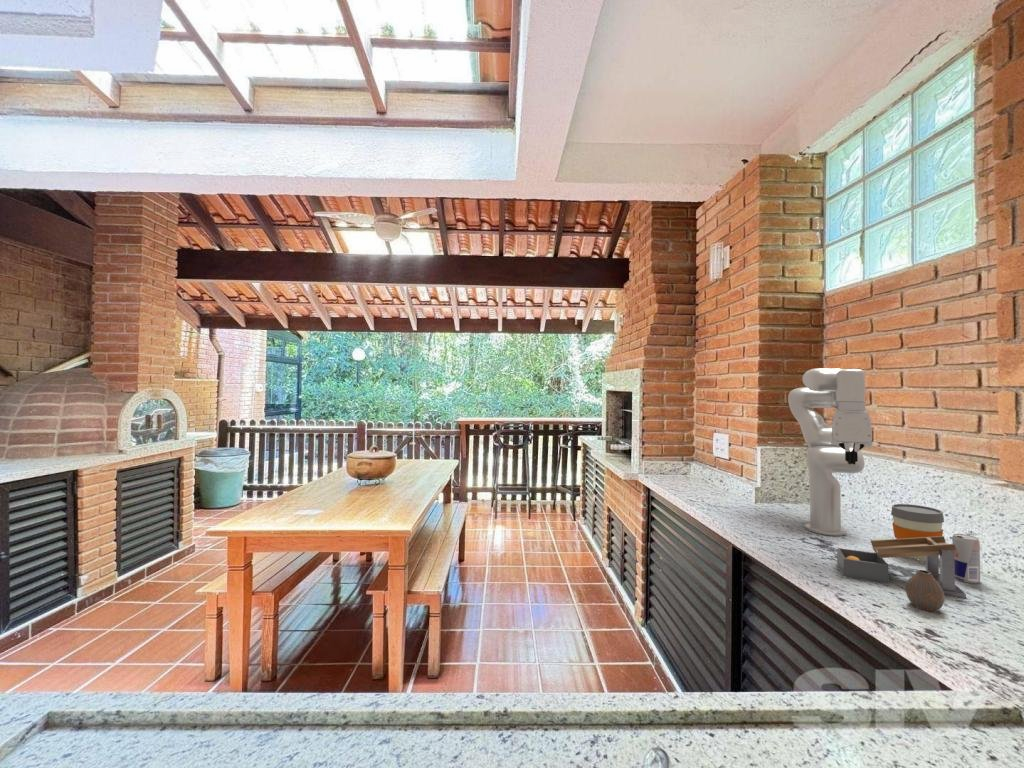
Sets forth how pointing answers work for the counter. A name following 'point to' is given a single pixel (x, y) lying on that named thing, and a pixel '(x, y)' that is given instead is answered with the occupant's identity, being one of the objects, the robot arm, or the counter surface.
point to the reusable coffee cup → (916, 522)
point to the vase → (925, 591)
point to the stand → (944, 572)
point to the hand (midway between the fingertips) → (851, 463)
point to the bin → (862, 565)
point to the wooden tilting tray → (910, 546)
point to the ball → (852, 558)
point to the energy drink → (967, 558)
